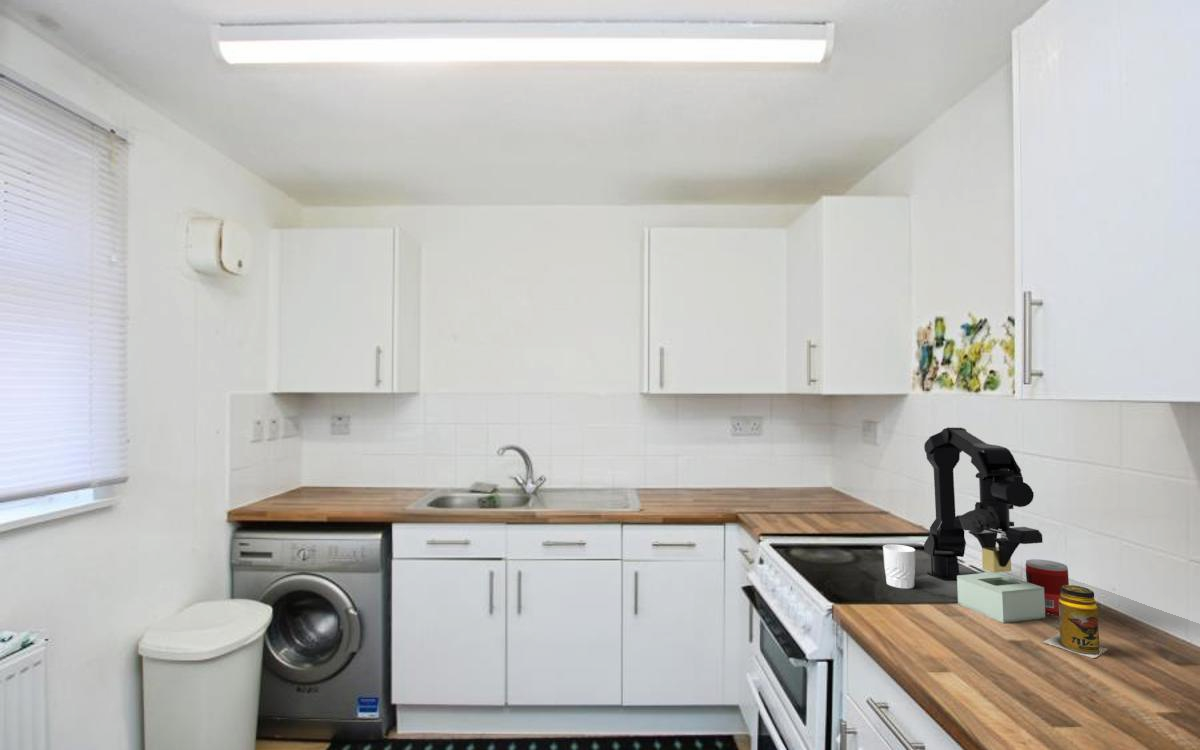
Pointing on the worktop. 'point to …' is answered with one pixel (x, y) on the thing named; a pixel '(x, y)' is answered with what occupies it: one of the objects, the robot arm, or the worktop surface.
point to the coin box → (1001, 597)
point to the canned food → (1048, 580)
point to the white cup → (899, 565)
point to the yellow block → (993, 560)
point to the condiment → (1078, 622)
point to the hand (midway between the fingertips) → (996, 564)
